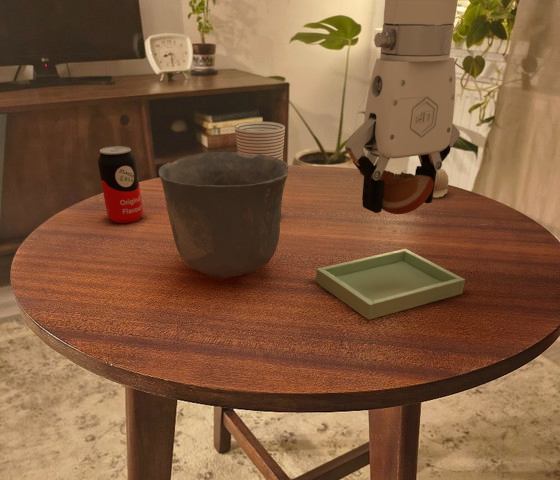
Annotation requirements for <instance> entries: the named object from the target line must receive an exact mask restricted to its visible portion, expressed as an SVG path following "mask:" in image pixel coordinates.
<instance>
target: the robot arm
mask: <svg viewBox="0 0 560 480" xmlns="http://www.w3.org/2000/svg"><path fill="white" fill-rule="evenodd" d="M458 1H459V0H384V7H383V9H384V10H383V21H382V23H383V24H382V32H377V33H376V34H375V36H374V39H373V41H374V42H373V43H374V45H375V47H376V48H380V53H379V55H380V56H379V58H378V57H377V58H375V62H374V66H373V69H372V73H371V77H370V81H369V87H368V92H367V96H366V97H367V98H366V103H365V104H366V105H365V109H364V110H365V113H364V118H363V120H364V121H363V125H362V126H361V127H360V128H359V129H358V130H357V132H355V133H354V135H353V136H352V137H351V138H350V139H349V140H348V141H346V143H345V146H344V149H345V151H346V152H347V153H348V155H349V157H350V159H351V160H352V163H353V165H354V166H355V168H357V169H358V171H359V174H360V175H361V176H363V184H362V198H361V199H362V207H363V208H364V209H366V210H368V211H370V212H372V213H374V214H378V213H381V212H382V211H383V209H382V203H383V193H384V180H383V179H380V177H381V175H382V173H383V171H384V170H385V169H386V167H387V165H388V163H389V162H390V159H391V160H392V159H402V158H411V157H418V160H419V164H420V165H416V168H415V172H414V175H424V176H428V177H431V178H432V180H433V183H434V186H435V179H436V171H438V170H440V169H442V167H443V162H444V161H445V159H446V158H447V157H448V156H449V154H450V153H451V148H453V147H454V145H455V144H456V142H457V141H458V139H459V138H460V135H461V133H460V131H459V129H458V128H457V127H456V126H455V124H454V123H453V122H454V113H455V104H456V103H455V101H456V85H457V84H456V81H457V79H456V61H455V59H456V58H454V57H451V50H452V43H453V36H454V28H455V21H456V16H457V9H458V3H459V2H458ZM364 150H366V151H367V154H365V151H364ZM434 186H433V189H432V192H431V194H430V195H429V196H428V198H427V199H426V201H425V202H424V203H425V204H427V205H428V204H432V203H433V199H434V198H433V192H434ZM424 203H423V204H424Z"/></svg>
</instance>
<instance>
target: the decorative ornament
mask: <svg viewBox="0 0 560 480" xmlns="http://www.w3.org/2000/svg"><path fill="white" fill-rule="evenodd" d="M448 187H449V174H448V173H447V171H446V170H445V169H443V168H441V169H440V170H438V171H436V179H435V186H434V192H433V199H438V198H443V197H445V195H447V193H448V192H449V190H448Z"/></svg>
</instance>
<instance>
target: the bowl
mask: <svg viewBox="0 0 560 480" xmlns="http://www.w3.org/2000/svg"><path fill="white" fill-rule="evenodd" d="M288 169H289V164H288V163H287V162H286V161H284V160H280V159H278V158H275V157H270V156H267V155H261V154H259V155H256V156H246V155H241V154H240V153H238V151H235V152H233V151H231V152H229V151H218V152H217V151H216V152H204V153H198V154H195V155H190V156H185V157H181V158H178V159H176V160H175V161H173V162H167V163H164V164H163V165H161V166H160V167H159V169H158V175H159V178H160V181H161V184H162V189H163V193H164V198H165V204H166V211H167V215H168V220H169V223H170V228H171V231H172V232H171V233H172V236H173V240H174V241H173V242H174V244H175V247H176V250H177V252H178V255H179V256H180V258H181V260H182V262H183V263H185V264H186V265H187V266H188V267H190V268H191V269H193V270H195V271H197V272H199V273H201V274H204V275H205V276H209V277H213V278H219V279H229V278H237V277H242V276H245V275H249V274H251V273H255V272H256V271H258V270H260V269H261V268H263V267H264V266H266V265H267V264H268V263H269V262H270V261H271V259H272V258H273V257H274V254H275V253H276V251H277V247H278V245H279V241H280V233H281V222H282V221H281V220H282V203H283V196H284V190H285V185H286V181H287V178H288V176H289V173H290V171H289V170H288Z"/></svg>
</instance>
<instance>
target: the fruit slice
mask: <svg viewBox="0 0 560 480" xmlns="http://www.w3.org/2000/svg"><path fill="white" fill-rule="evenodd" d="M380 179H383V180H384V193H383V203H382V211H383V210H384V212H387V213H388V214H391V215H404V214H409V213H411V212H413V211H416V210H417V209H418V208H420V207H421V206H422V205H423V204H424V202H425V201H426V199H427V198H428V196H429V195H430V194H431V192H432V189H433V186H434V183H433V180H432V178H431V177H428V176H424V175H415V174H413V173H406V172H404V171H401V173H394V172H392V171H390V170H385V169H384V171H383V173H382V175H381V177H380Z"/></svg>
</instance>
